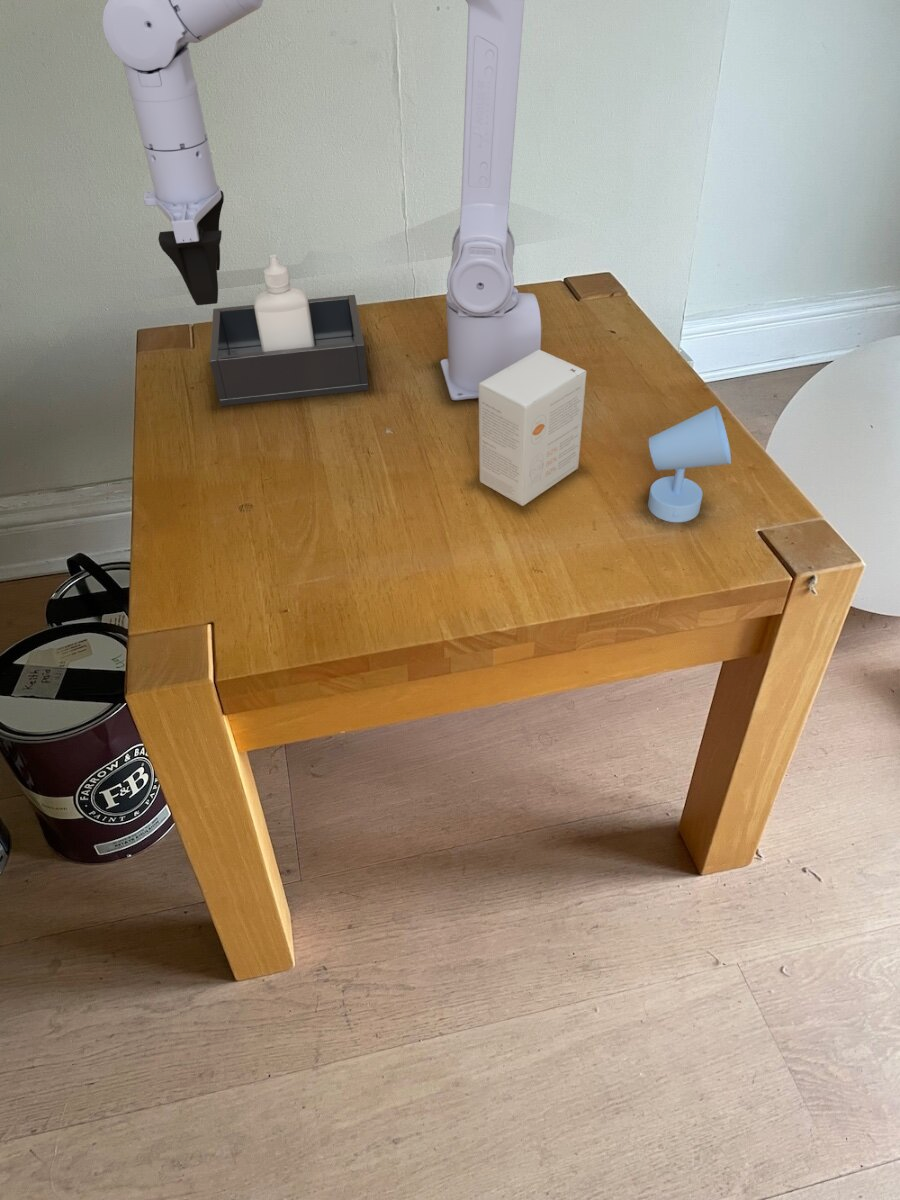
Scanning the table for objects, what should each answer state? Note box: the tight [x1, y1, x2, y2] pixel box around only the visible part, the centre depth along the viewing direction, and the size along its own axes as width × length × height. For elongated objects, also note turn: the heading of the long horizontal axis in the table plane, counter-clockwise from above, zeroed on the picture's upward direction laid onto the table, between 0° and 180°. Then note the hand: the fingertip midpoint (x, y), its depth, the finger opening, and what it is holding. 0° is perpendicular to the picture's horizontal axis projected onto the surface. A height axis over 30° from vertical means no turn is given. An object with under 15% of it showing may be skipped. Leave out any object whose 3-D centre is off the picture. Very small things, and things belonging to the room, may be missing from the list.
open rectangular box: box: [209, 294, 370, 407], centre depth 96 cm, size 16×12×5 cm
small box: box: [478, 350, 588, 507], centre depth 79 cm, size 8×6×10 cm
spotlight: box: [647, 405, 732, 523], centre depth 75 cm, size 5×10×7 cm
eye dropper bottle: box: [253, 254, 315, 352], centre depth 93 cm, size 4×6×12 cm
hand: (208, 286), depth 90 cm, fingers open, 7 cm apart
